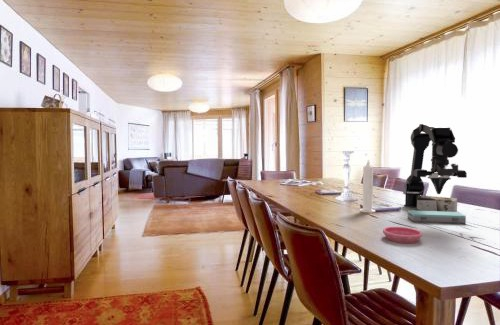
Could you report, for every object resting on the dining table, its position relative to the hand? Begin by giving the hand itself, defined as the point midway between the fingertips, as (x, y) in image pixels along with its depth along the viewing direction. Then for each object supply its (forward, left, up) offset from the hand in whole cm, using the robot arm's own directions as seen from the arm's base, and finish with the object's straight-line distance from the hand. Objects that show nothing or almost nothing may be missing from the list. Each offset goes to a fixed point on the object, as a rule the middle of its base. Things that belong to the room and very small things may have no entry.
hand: (438, 194), depth 139 cm
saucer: (+2, -36, -12) cm, 38 cm away
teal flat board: (-2, +2, -12) cm, 12 cm away
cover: (-2, +2, -9) cm, 10 cm away
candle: (-31, -3, -12) cm, 33 cm away
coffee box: (-2, +26, -9) cm, 28 cm away
